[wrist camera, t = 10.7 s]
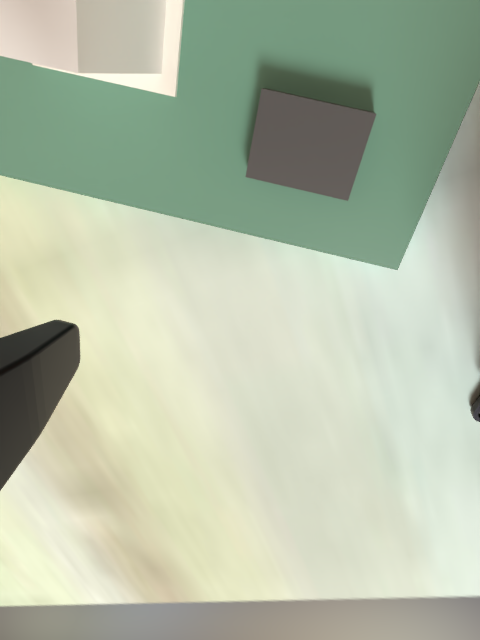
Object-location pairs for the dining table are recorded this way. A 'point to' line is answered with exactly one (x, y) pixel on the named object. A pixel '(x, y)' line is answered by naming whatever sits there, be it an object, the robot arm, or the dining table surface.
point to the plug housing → (85, 34)
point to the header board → (263, 120)
